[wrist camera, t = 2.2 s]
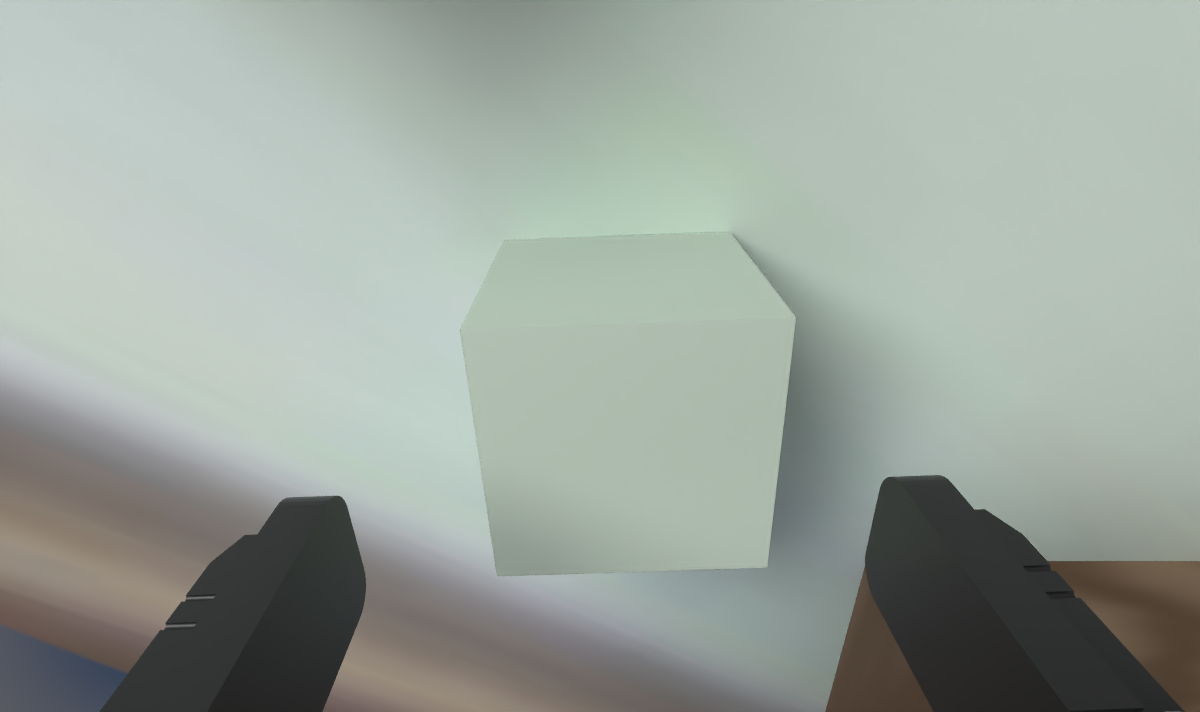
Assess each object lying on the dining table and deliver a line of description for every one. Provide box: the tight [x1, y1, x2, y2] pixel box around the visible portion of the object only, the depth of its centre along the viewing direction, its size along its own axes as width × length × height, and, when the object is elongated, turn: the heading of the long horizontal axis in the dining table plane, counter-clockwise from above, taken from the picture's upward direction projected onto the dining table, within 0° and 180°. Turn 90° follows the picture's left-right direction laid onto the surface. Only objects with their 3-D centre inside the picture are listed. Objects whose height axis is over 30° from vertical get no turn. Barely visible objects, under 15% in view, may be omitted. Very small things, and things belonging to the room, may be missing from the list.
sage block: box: [460, 231, 796, 576], centre depth 14 cm, size 6×6×6 cm
